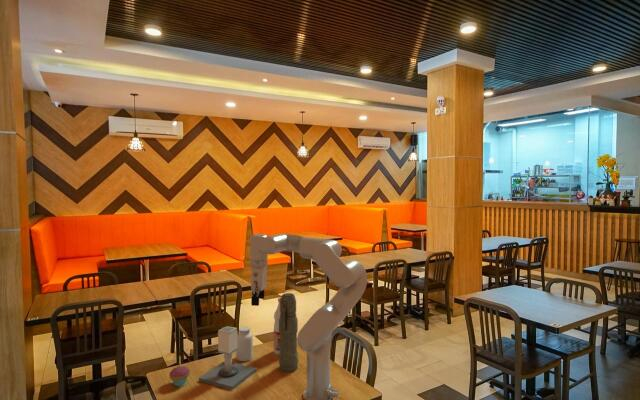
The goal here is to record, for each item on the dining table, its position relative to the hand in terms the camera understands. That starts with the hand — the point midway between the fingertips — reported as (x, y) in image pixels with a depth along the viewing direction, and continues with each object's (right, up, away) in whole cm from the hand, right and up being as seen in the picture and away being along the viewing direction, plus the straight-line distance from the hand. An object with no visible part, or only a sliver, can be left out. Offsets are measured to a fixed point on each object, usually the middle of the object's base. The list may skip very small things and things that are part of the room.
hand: (258, 301), depth 170 cm
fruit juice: (+8, -34, +31) cm, 47 cm away
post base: (-14, -35, +7) cm, 39 cm away
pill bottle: (-11, -35, +25) cm, 44 cm away
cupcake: (-34, -36, 0) cm, 49 cm away
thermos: (+12, -35, +14) cm, 40 cm away
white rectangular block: (-14, -24, +6) cm, 29 cm away
